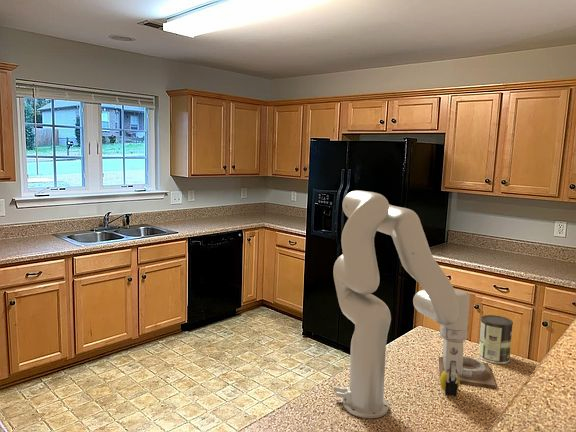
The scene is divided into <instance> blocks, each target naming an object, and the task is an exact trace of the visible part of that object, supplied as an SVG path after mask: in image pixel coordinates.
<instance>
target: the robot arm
mask: <svg viewBox="0 0 576 432" xmlns="http://www.w3.org/2000/svg"><path fill="white" fill-rule="evenodd" d="M342 211H343V213H344V214H345V216H346V217H347V220H346V222H345V224H344V227H343V229H342V232H341V237H340V238H341V239H340V242H341V249H342V250H341V251H342V254H341V255H340V256H338V257H337V259H336V260H335V262H334V263H333V264H334V265H333V272H332V273H333V274H332V275H333V281H334V286H335V291H336V297H337V301H338V304H339V308H340V310H341V312H342V314H343V315H344V316H345V317H346V318H347V319H348V320H350V321H351V322H352V323H353V324H354V331H353V334H352V338H351V341H350V359H349V361H350V363H349V380H348V381H349V384H348V386H347V385H346V386H344V387H343V386H340V385H333V393H335V395H336V397H337V398H342V406H343V407H344V408H343V409H345V410H346V411H347V412H348V413H349V414H351V415H353V416H356V417H358V418H361V419H362V418H363V419H377V418H381V417H384V416H385V415H386V414H387V413H388V412H389V402H388V400H386V399H385V396H384V395H385V393H384V392H385V376H386V375H385V373H386V372H385V370H386V354H387V353H386V349H387V340H388V333H389V330H390V326H391V321H392V315H391V311H390V309H389V306H388V305H387V304H386V303H385V302H384V301H383V300H382V299H380V298H379V297H377V296H376V295H375V294H373V293H374V292H376V291H377V289H378V287H379V286H380V279H381V278H380V271H379V267H378V260H377V255H376V247H375V237H376V234H377V232H380V233H382V234H385V235H389V236H391V238H392V241H393V244H394V246H395V249H396V251H397V254H398V258H399V260H400V263H401V266H402V267H403V268H404V270H405V271H406V272H407V273H408V274H409V275H410V277H412V279H414V280H415V281H416V282H417V283H418V284H419V285H420V286H421V287H422V289H421V290H419V291H417V292H416V293H415V294H414V295H413V299H412V302H413V307H414V308H415V310H416V311H417V312H418V313H420V314H421V315H423V316H425V317H426V318H429V319H431V320H433V322H436V323H438V324H440V325H439V326H440V327H439V336H440V337H441V338H442V339H443V342H442V343H443V344H442V357H443V363H444V370H445V372H446V373H447V381H446V386H445V391H444V395H445V396H450V397H455V398H456V397H457V396H458V390H459V388H458V383H457V372H458V374H459V375H462V370H463V356H464V342H466V341H467V340H468V329H469V328H468V326H469V315H470V314H469V313H470V312H469V311H470V294H469V293H468V292H467V291H465V290H461V289H458V288H457V289H455V288H454V286H453V284H452V282H451V281H450V278H449V277H448V276H447V275H446V273H445V272H444V271H443V269H442V268H441V266H440V265H439V263H438V262H437V261H436V260H435V258H434V257H433V254H432V251H431V249H430V246H429V243H428V240H427V237H426V233H425V232H424V229H423V225H422V223H421V219H420V217H419V215H418V214H417V213H416V212H415V211H414V210H413V209H410V208H407V207H401V206H397V205H392V204H390V203H389V200H388V199H387V198H386V197H385V196H384V195H383V194H381V193H378V192H374V191H366V190H358V189H357V190H356V189H355V190H352V191H350V192H348V193H347V194H346V195H345V196H344V198H343V200H342ZM449 370H451V371H449ZM449 374H451V376H450V377H449ZM457 389H458V390H457Z"/></svg>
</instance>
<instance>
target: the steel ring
mask: <svg viewBox="0 0 576 432" xmlns="http://www.w3.org/2000/svg"><path fill="white" fill-rule="evenodd" d="M483 363H484V362H482V361H481V360H480V359H477V358H474V357H472V356H466V355H463V364H466V365H470V366H473V367H475V368H477V369H465V368H463V370H462V375H459V374H458V375H459V376H461V377H466V378H480V377H482V376H483V375H484V369H485V367H484V364H483ZM457 373H458V372H457Z"/></svg>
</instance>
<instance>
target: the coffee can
mask: <svg viewBox="0 0 576 432" xmlns="http://www.w3.org/2000/svg"><path fill="white" fill-rule="evenodd" d="M513 325H514V321H513V320H511V319H510V318H507V317H505V316H500V315H494V314H486V315H482V316H481V317H480V331H479V332H480V333H479V345H478V357H479V358H480V359H481V360H483V361H484V362H487V363H490V364H496V365H505V364H506V365H507V364H509V362H510V361H511V346H512V345H511V343H512V333H513Z"/></svg>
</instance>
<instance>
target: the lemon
mask: <svg viewBox="0 0 576 432" xmlns="http://www.w3.org/2000/svg"><path fill="white" fill-rule="evenodd" d="M449 371H451V370H449ZM450 376H451V374H449V377H450ZM446 381H447V373H446V372H445V370H444V371H443V372H442V374H441V377H440V379H439V383H440V387H441V389H442V390H443V391H444V392H445V386H446ZM457 383H458V389H457V391H458V390H459V388H460V384H461V383H460V378H459V375H458V373H457Z"/></svg>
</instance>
